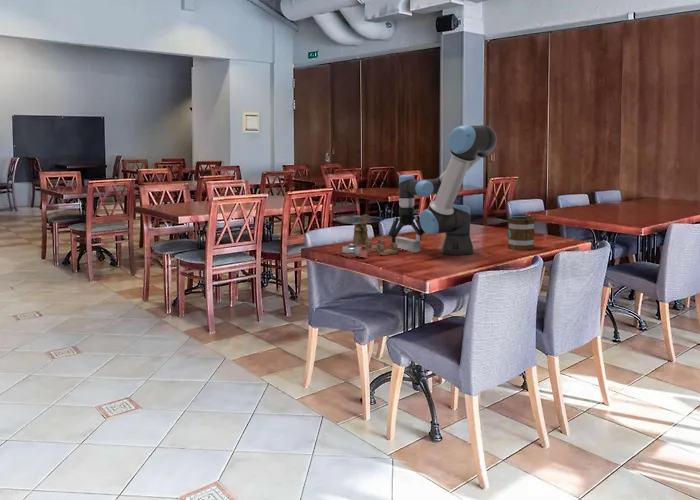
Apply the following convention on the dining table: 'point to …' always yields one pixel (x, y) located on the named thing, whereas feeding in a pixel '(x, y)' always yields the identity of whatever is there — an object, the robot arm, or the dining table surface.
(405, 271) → the dining table surface
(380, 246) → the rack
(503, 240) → the dining table surface
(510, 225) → the mug
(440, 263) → the dining table surface
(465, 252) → the robot arm
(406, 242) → the steel bar
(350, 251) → the silver lever handle
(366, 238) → the bronze figurine
